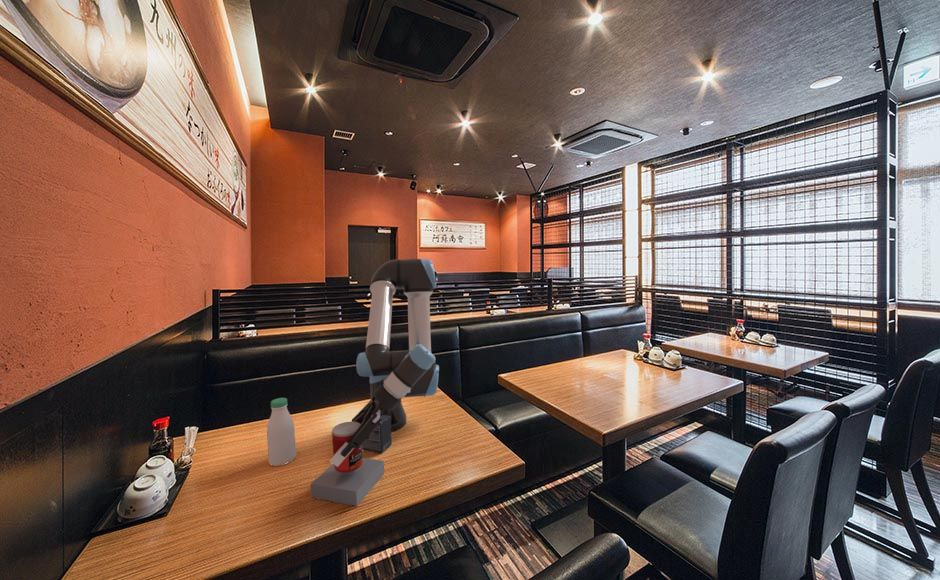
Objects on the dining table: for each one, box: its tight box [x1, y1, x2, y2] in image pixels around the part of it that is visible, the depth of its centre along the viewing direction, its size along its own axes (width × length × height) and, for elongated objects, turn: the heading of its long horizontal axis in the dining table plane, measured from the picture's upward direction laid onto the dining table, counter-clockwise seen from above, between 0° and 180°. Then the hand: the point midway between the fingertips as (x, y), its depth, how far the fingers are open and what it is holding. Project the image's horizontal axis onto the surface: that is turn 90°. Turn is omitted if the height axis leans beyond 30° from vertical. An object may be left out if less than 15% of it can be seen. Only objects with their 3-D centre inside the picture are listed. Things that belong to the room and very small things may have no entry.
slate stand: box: [310, 457, 385, 507], centre depth 95 cm, size 14×14×4 cm
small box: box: [362, 415, 393, 454], centre depth 115 cm, size 11×6×10 cm, turn 71°
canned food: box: [331, 421, 364, 473], centre depth 94 cm, size 8×8×11 cm
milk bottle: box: [266, 397, 297, 466], centre depth 108 cm, size 8×8×20 cm
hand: (335, 454), depth 93 cm, fingers closed on canned food, 8 cm apart
